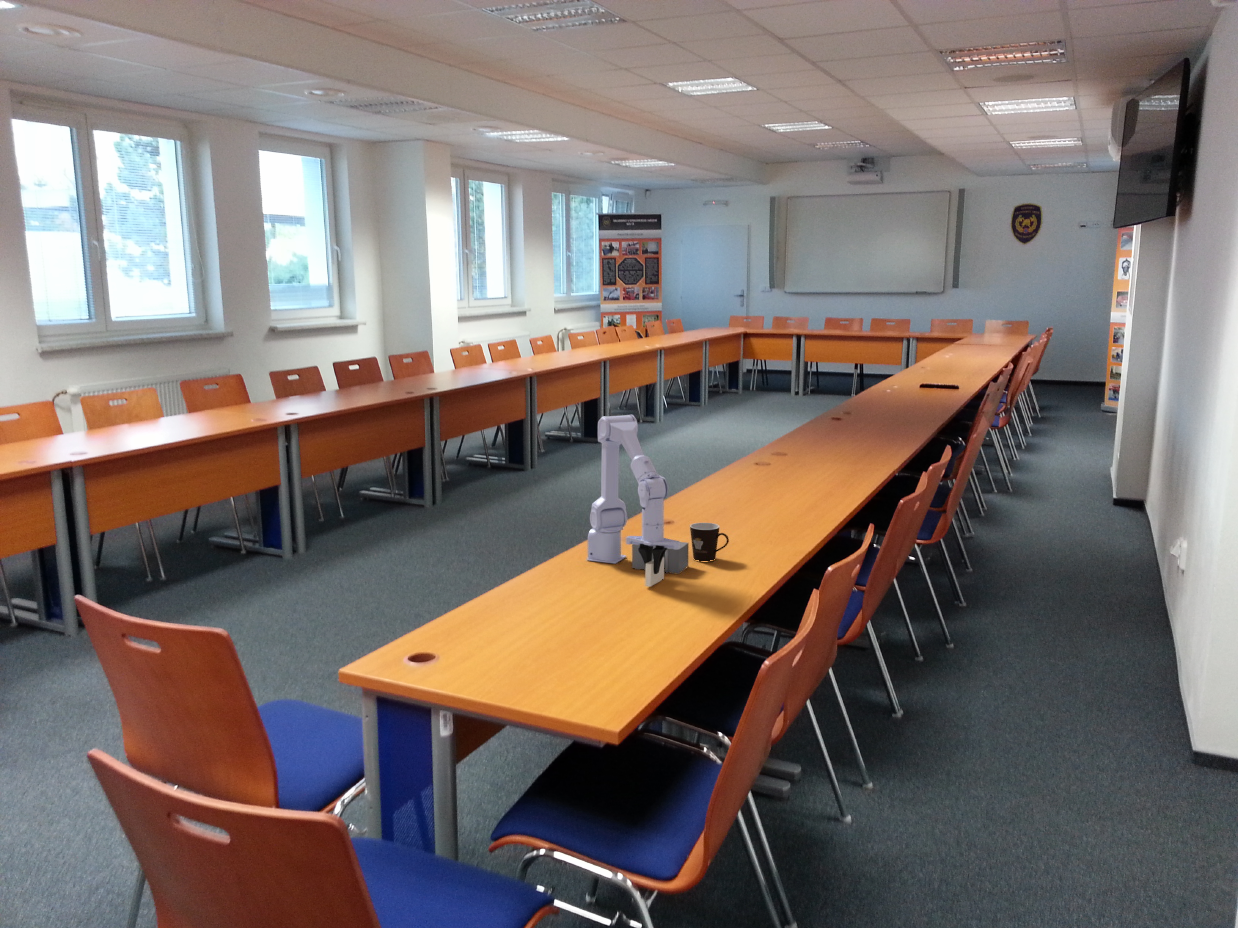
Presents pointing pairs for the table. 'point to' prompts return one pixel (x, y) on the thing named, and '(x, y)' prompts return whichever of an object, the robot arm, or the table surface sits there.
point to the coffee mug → (705, 540)
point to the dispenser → (665, 558)
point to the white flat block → (649, 573)
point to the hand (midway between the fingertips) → (652, 572)
